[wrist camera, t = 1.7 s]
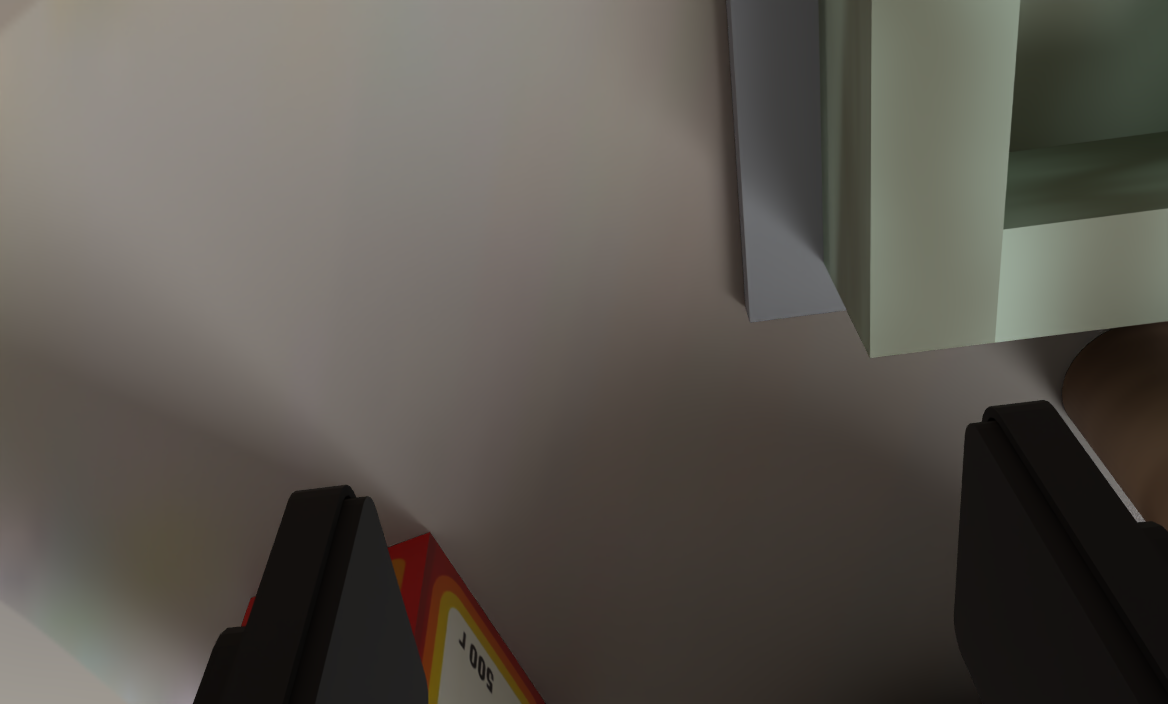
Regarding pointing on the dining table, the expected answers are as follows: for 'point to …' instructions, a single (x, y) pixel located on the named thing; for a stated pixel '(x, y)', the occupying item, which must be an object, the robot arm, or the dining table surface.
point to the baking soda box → (453, 632)
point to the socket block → (994, 167)
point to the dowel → (1126, 410)
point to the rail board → (779, 157)
